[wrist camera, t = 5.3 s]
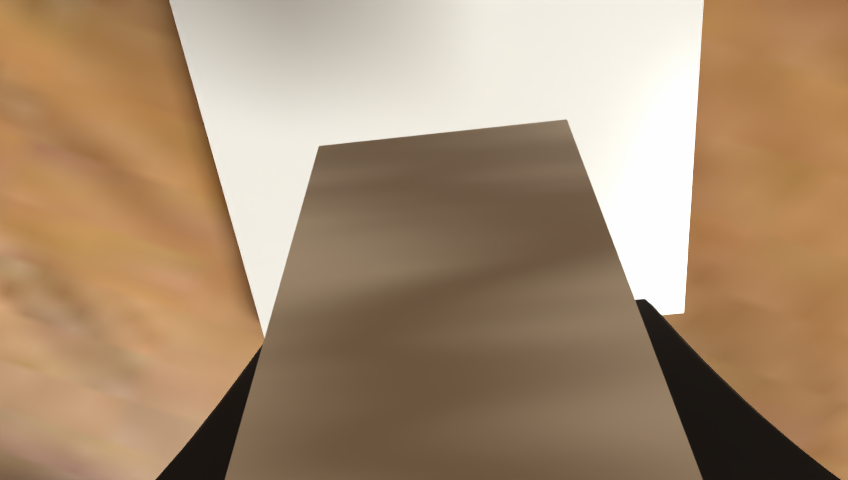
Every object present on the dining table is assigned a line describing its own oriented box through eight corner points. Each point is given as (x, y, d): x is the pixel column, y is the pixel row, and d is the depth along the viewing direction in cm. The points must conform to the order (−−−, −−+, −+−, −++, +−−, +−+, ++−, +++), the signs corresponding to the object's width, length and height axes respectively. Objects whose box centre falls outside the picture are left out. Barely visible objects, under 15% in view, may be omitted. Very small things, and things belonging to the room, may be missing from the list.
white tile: (701, -161, 16) (713, -156, 15) (675, 294, 21) (684, 312, 21) (157, -91, 16) (145, -84, 16) (273, 331, 22) (267, 350, 21)
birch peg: (566, 119, 13) (728, 548, 6) (572, 320, 15) (696, 808, 8) (319, 145, 13) (194, 586, 6) (358, 339, 15) (298, 829, 8)
